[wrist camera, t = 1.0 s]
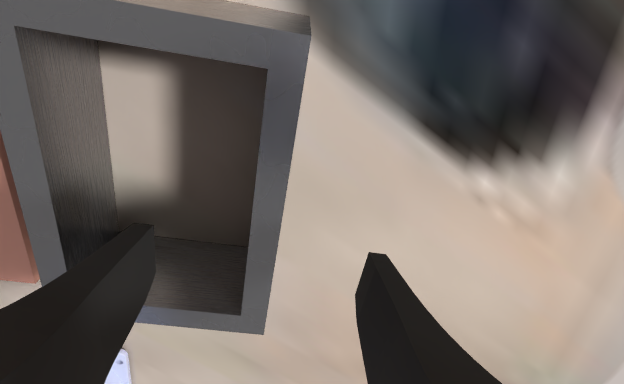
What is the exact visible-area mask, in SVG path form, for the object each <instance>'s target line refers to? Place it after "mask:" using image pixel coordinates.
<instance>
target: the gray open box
mask: <svg viewBox="0 0 624 384" xmlns="http://www.w3.org/2000/svg"><path fill="white" fill-rule="evenodd" d="M97 40H101V41H107V42H113V43H119V44H125V45H131V46H137V47H142V48H148V49H154V50H160V51H166V52H172V53H178V54H184V55H189V56H195V57H201V58H207V59H213V60H219V61H225V62H231V63H237V64H242V65H248V66H254V67H260V68H266V69H268V72H267V81H266V90H265V99H264V109H263V118H262V127H261V136H260V145H259V154H258V164H257V173H256V182H255V191H254V200H253V209H252V219H251V228H250V237H249V246H248V247H240V246H232V245H224V244H216V243H207V242H199V241H191V240H182V239H174V238H166V237H158V236H154V242H155V260H156V274H155V277H154V280H153V282H152V285H151V288H150V291H149V293H148V296H147V299H146V301H145V303H144V305H143V307H142V309H141V311H140V313H139V315H138V317H137V319H136V321H135V322H137V323H147V324H157V325H167V326H178V327H188V328H198V329H208V330H219V331H229V332H239V333H249V334H260V335H264V329H265V322H266V316H267V310H268V304H269V297H270V291H271V285H272V278H273V272H274V266H275V260H276V253H277V247H278V241H279V235H280V228H281V222H282V216H283V210H284V203H285V197H286V191H287V185H288V178H289V172H290V166H291V160H292V153H293V147H294V141H295V135H296V128H297V122H298V116H299V109H300V103H301V97H302V91H303V84H304V78H305V72H306V66H307V59H308V53H309V47H310V41H311V28H310V18H309V16H305V15H300V14H294V13H289V12H283V11H278V10H273V9H267V8H262V7H257V6H251V5H246V4H240V3H235V2H230V1H224V0H0V131H1V134H2V138H3V142H4V146H5V149H6V153H7V157H8V161H9V164H10V168H11V172H12V176H13V179H14V183H15V187H16V190H17V194H18V198H19V202H20V205H21V209H22V213H23V217H24V220H25V224H26V228H27V232H28V235H29V239H30V243H31V247H32V250H33V254H34V258H35V262H36V265H37V269H38V273H39V277H40V280H41V284H42V287H43V286H45V285H46V284H48V283H50V282H51V281H53V280H54V279H56V278H57V277H59V276H60V275H62V274H64V273H65V272H67V271H68V270H70V269H71V268H73V267H74V266H76V265H77V264H79V263H80V262H82V261H83V260H84V259H86V258H87V257H89V256H90V255H91V254H93V253H94V252H96V251H97V250H98V249H100V248H101V247H102V246H104V245H105V244H107V243H108V242H109V241H111V240H112V239H113V238H115V237H116V236H117V235H119V234H120V233H121V232H119V229H118V220H117V211H116V202H115V193H114V184H113V176H112V167H111V158H110V149H109V140H108V131H107V122H106V114H105V105H104V96H103V87H102V78H101V69H100V60H99V51H98V43H97Z"/></svg>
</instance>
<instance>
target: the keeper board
mask: <svg viewBox="0 0 624 384" xmlns="http://www.w3.org/2000/svg"><path fill="white" fill-rule="evenodd" d="M39 279H40V277H39V273H38V269H37V265H36V262H35V258H34V254H33V250H32V247H31V243H30V239H29V235H28V232H27V228H26V224H25V220H24V217H23V213H22V209H21V205H20V202H19V198H18V194H17V190H16V187H15V183H14V179H13V176H12V172H11V168H10V164H9V161H8V157H7V153H6V149H5V146H4V142H3V138H2V134H1V131H0V280H6V281H16V282H25V283H35V284H36V282H37V281H38V280H39Z"/></svg>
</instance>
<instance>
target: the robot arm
mask: <svg viewBox="0 0 624 384" xmlns="http://www.w3.org/2000/svg"><path fill="white" fill-rule="evenodd" d="M155 274H156V260H155V242H154V225H146V224H138V223H134V224H132V225H131V226H129V227H128V228H127V229H125V230H124V231H123V232H121V233H120V234H119V235H117V236H116V237H115V238H113V239H112V240H111V241H109V242H108V243H107V244H105V245H104V246H102V247H101V248H100V249H98V250H97V251H96V252H94V253H93V254H91V255H90V256H89V257H87V258H86V259H84V260H83V261H82V262H80V263H79V264H77V265H76V266H74V267H73V268H71V269H70V270H68V271H67V272H65V273H64V274H62V275H60V276H59V277H57V278H56V279H54V280H53V281H51V282H50V283H48V284H46V285H45V286H43V287H41V288H39V289H38V290H36V291H34V292H32V293H30V294H29V295H27V296H25V297H23V298H21V299H20V300H18V301H16V302H14V303H12V304H10V305H8V306H6V307H4V308H2V309H0V384H132V383H131V375H130V367H129V359H128V353H127V351H125V350H123V349H121V348H122V346H123V344H124V342H125V340H126V338H127V336H128V334H129V332H130V330H131V328H132V327H133V325H134V323H135V321H136V319H137V317H138V315H139V313H140V311H141V309H142V307H143V305H144V303H145V301H146V299H147V296H148V293H149V291H150V288H151V285H152V282H153V280H154V277H155ZM355 300H356V319H357V327H358V332H359V338H360V344H361V349H362V355H363V360H364V365H365V371H366V376H367V382H368V384H502V383H501V382H500V381H498V380H497V379H496V378H495V377H493V376H492V375H491V374H490V373H489V372H488V371H487V370H485V369H484V368H483V367H482V366H481V365H480V364H479V363H477V362H476V361H475V360H474V359H473V358H472V357H471V356H470V355H469V354H468V353H467V352H466V351H465V350H463V349H462V348H461V346H460V345H459V344H458V343H457V342H456V341H455V340H454V339H453V338H452V337H451V336H450V335H449V334H448V333H447V332H446V331H445V330H444V329H443V328H442V327H441V326H440V324H439V323H438V322H437V321H436V320H435V319H434V317H433V316H432V315H431V314H430V313H429V312H428V310H427V309H426V308H425V307H424V305H423V304H422V303H421V302H420V300H419V299H418V298H417V297H416V295H415V294H414V293H413V291H412V290H411V289H410V287H409V286H408V285H407V283H406V282H405V280H404V279H403V278H402V276H401V275H400V273H399V272H398V271H397V269H396V268H395V266H394V265H393V263H392V262H391V261H390V259H389V258H388V256H387V255H386V254H379V253H371V252H369V253H368V257H367V260H366V263H365V266H364V269H363V272H362V275H361V278H360V281H359V284H358V288H357V291H356V294H355Z"/></svg>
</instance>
